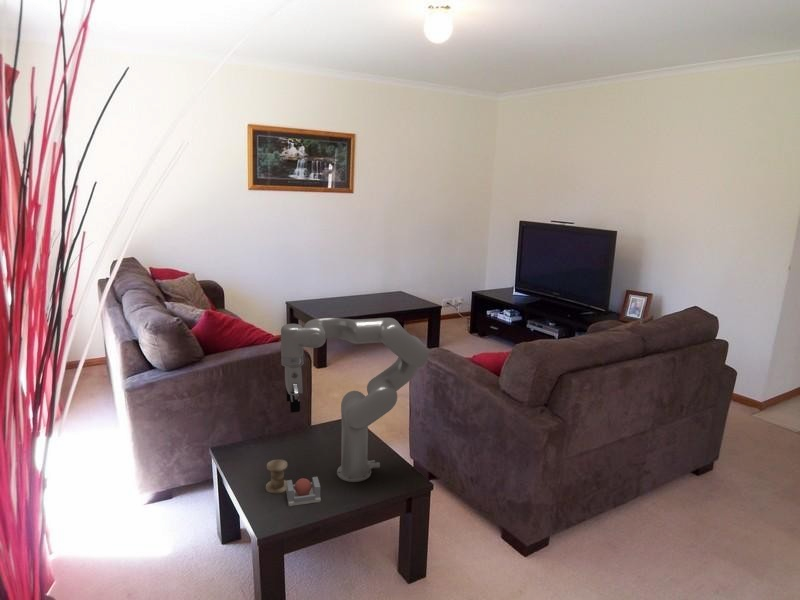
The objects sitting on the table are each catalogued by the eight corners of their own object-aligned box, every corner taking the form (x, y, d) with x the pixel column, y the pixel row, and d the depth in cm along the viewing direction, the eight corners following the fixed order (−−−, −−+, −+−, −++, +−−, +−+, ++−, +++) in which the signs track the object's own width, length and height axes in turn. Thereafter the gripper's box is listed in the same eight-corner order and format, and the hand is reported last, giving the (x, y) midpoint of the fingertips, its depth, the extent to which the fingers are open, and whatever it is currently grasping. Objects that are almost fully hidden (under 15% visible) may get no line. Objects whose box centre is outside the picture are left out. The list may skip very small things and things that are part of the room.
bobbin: (288, 479, 194) (287, 457, 193) (290, 491, 187) (289, 468, 185) (265, 482, 192) (264, 460, 190) (266, 495, 185) (265, 471, 183)
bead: (310, 488, 188) (309, 474, 186) (312, 497, 182) (312, 482, 181) (294, 491, 186) (293, 476, 185) (295, 499, 181) (295, 484, 180)
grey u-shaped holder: (317, 487, 190) (317, 475, 189) (320, 501, 182) (320, 488, 181) (286, 492, 187) (286, 478, 186) (288, 506, 179) (288, 492, 178)
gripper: (307, 367, 179) (307, 415, 183) (299, 351, 195) (300, 395, 199) (284, 369, 177) (285, 417, 181) (278, 353, 193) (279, 397, 197)
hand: (293, 406), depth 190 cm, fingers open, 9 cm apart
